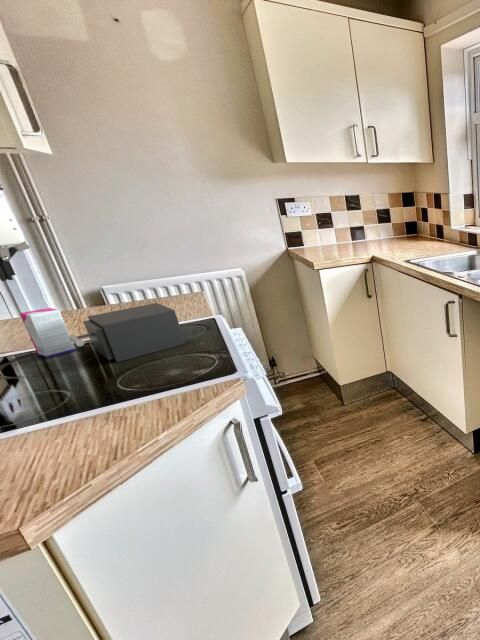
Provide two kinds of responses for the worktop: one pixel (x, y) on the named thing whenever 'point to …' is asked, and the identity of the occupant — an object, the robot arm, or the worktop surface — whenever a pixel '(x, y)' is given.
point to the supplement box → (48, 332)
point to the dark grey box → (94, 339)
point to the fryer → (140, 330)
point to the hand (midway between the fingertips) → (6, 279)
